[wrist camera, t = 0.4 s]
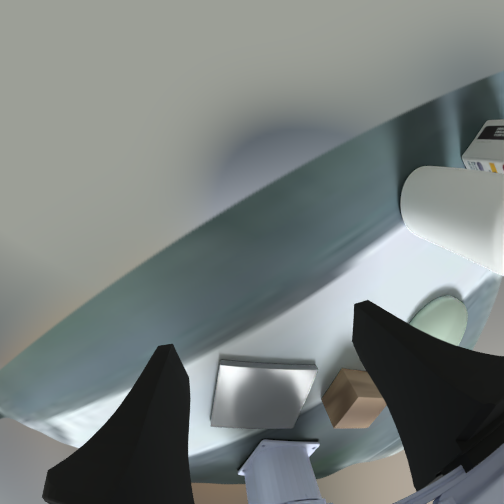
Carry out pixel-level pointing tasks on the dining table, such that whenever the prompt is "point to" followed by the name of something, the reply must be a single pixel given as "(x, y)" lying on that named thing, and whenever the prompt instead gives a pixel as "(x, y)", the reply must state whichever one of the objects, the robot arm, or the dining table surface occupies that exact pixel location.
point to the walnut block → (353, 400)
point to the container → (487, 149)
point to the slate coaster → (260, 394)
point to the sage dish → (443, 319)
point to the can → (458, 212)
